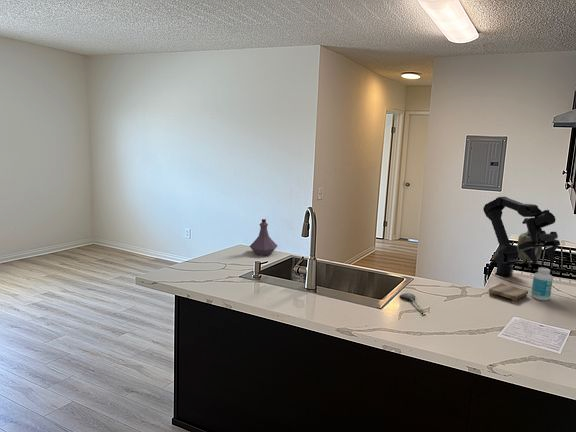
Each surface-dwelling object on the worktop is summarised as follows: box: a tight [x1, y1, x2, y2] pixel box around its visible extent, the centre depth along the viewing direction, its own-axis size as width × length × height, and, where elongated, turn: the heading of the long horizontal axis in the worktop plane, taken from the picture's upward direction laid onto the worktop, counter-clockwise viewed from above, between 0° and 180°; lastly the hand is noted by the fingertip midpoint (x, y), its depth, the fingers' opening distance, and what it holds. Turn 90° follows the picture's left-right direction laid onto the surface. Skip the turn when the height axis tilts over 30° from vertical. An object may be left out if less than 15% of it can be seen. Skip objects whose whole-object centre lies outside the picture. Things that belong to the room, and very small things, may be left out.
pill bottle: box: [530, 267, 554, 301], centre depth 200 cm, size 8×7×14 cm
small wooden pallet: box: [488, 282, 529, 304], centre depth 203 cm, size 12×12×3 cm
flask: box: [249, 218, 278, 256], centre depth 260 cm, size 16×16×20 cm
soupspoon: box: [399, 292, 426, 314], centre depth 191 cm, size 22×3×7 cm
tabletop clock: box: [516, 230, 543, 268], centre depth 247 cm, size 14×9×25 cm, turn 137°
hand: (544, 263), depth 206 cm, fingers open, 9 cm apart
